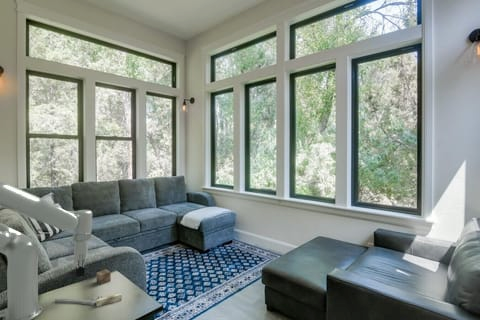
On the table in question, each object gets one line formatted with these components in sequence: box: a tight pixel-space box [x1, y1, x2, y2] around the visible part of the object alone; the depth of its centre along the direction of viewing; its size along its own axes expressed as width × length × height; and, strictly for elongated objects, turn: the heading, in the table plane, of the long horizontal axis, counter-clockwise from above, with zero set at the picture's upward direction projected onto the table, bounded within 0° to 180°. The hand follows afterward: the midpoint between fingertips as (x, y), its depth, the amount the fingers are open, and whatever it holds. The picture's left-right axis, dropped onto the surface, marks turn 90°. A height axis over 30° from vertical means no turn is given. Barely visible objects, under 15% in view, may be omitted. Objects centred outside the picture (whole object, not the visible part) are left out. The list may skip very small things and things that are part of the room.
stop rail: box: [96, 292, 123, 307], centre depth 115 cm, size 10×2×2 cm, turn 121°
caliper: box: [55, 296, 103, 307], centre depth 114 cm, size 20×1×6 cm
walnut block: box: [95, 269, 112, 286], centre depth 134 cm, size 5×5×5 cm
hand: (80, 275), depth 121 cm, fingers closed
